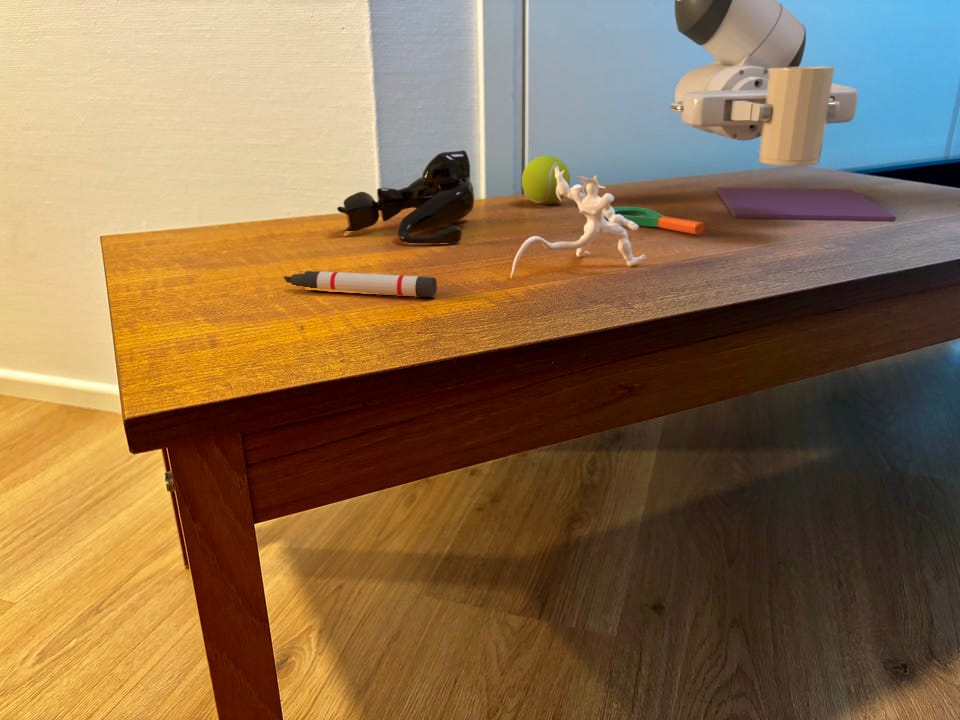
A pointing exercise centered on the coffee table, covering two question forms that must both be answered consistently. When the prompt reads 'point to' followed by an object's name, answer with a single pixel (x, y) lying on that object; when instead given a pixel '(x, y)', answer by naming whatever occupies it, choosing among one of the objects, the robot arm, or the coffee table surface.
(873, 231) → the coffee table surface
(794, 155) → the pen cup
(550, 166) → the tennis ball
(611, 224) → the creature figurine
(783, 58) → the robot arm
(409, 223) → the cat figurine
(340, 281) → the marker
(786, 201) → the mat
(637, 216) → the magnifying glass
